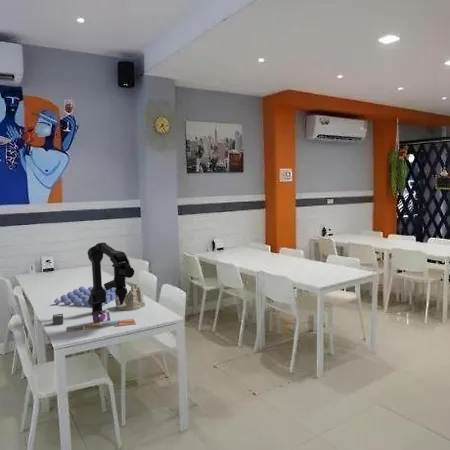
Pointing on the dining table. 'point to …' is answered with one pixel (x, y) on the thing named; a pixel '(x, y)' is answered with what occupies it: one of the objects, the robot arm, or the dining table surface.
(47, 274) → the dining table surface
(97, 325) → the game board
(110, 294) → the blocks
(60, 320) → the die
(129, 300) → the sand castle
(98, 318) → the game card
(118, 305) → the pawn
